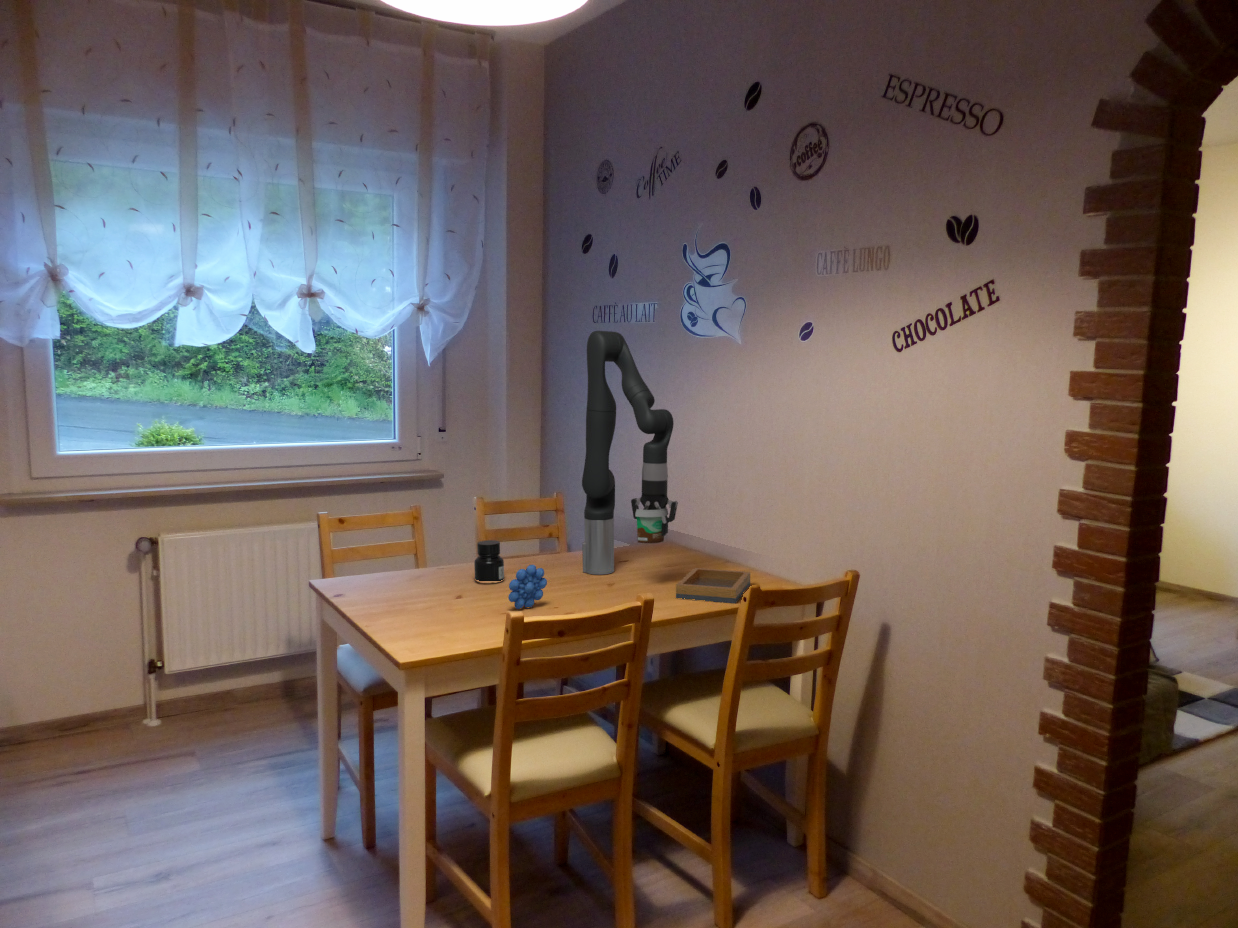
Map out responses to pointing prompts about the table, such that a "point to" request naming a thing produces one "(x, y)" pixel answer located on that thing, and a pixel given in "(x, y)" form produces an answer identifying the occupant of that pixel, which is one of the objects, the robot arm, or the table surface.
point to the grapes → (527, 587)
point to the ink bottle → (489, 561)
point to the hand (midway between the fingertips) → (653, 534)
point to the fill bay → (713, 585)
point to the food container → (650, 525)
